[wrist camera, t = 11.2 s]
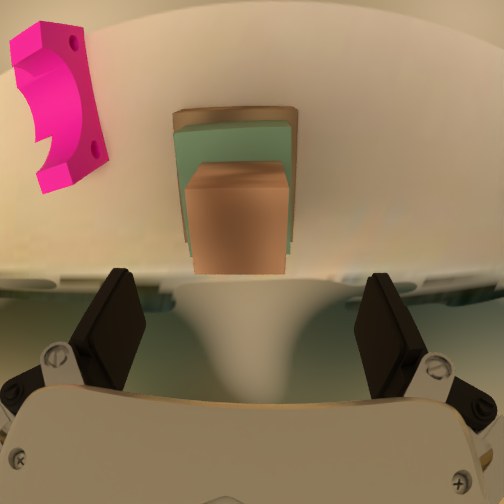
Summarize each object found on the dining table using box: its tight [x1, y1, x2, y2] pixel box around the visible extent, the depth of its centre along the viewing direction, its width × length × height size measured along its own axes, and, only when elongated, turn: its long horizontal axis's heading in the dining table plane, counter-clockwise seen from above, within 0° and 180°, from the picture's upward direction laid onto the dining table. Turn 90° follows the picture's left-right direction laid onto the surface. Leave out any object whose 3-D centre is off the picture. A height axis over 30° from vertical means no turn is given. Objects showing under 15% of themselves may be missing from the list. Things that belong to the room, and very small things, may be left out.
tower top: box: [173, 120, 291, 257], centre depth 23 cm, size 8×10×4 cm
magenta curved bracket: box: [10, 21, 109, 194], centre depth 21 cm, size 15×6×8 cm, turn 8°
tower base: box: [173, 106, 298, 242], centre depth 27 cm, size 10×12×4 cm
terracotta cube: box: [184, 161, 289, 274], centre depth 19 cm, size 6×6×6 cm
